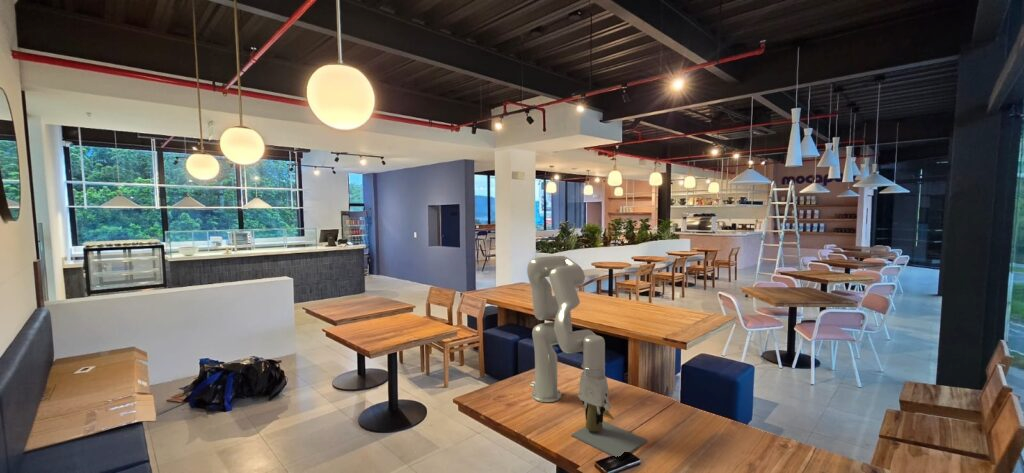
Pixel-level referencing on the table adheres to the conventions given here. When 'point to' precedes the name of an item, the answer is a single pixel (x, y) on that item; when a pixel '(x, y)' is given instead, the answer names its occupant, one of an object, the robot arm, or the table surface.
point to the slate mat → (610, 439)
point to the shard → (606, 414)
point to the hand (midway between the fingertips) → (594, 420)
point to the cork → (592, 419)
